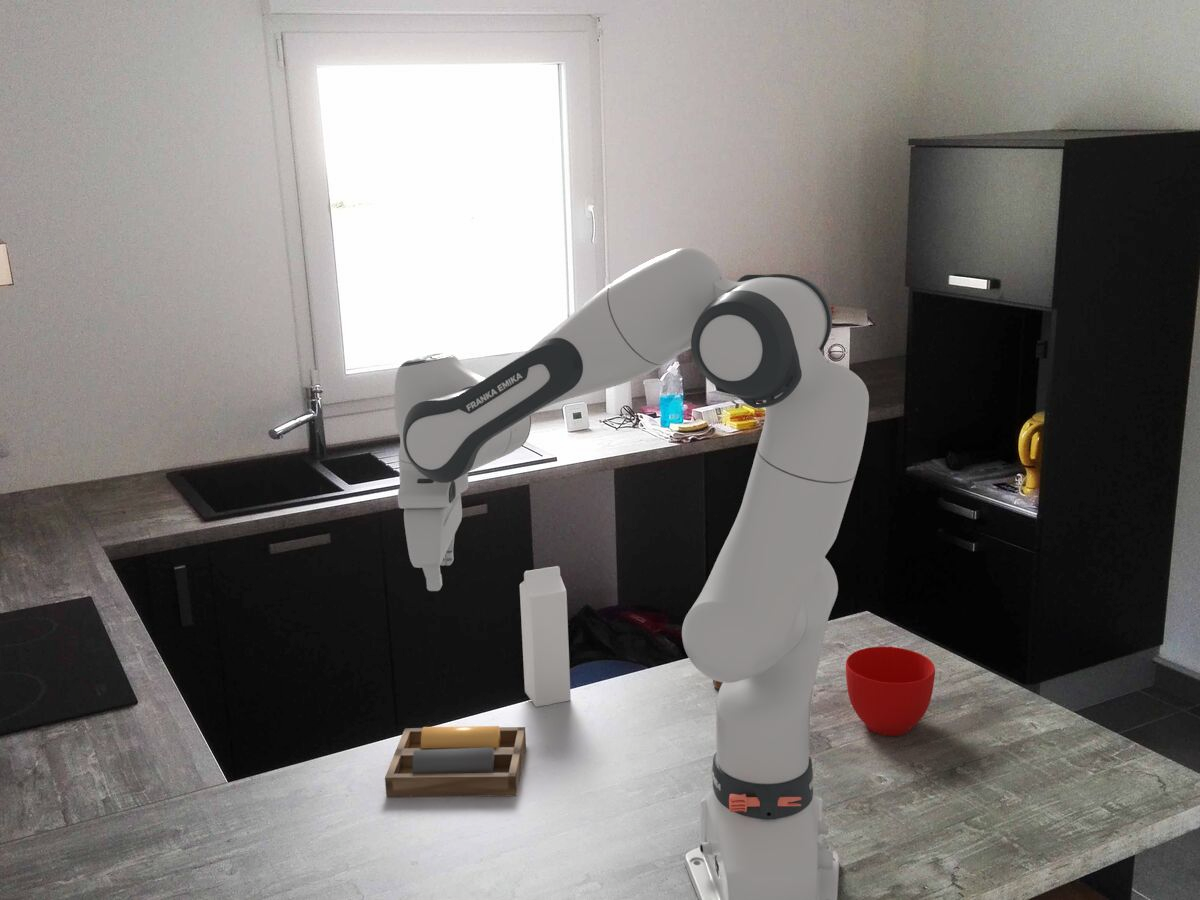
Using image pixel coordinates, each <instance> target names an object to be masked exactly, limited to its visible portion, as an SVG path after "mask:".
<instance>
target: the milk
mask: <svg viewBox="0 0 1200 900" xmlns="http://www.w3.org/2000/svg"><path fill="white" fill-rule="evenodd" d="M560 567H561V566H559V565H556V566H551V567H542V568H538V569H531V570H525V571H524V573H523V581H522V582H520V584H519V598H520V601H519V602H520V617H521V619H520V620H521V636H522V637H521V641H522V656H523V657H522V661H523V679H524V693H525V694H526V695H527V697H528V698H529V700H530V701H531V702H532V704H533V705H534V707H535V708H539V707H543V706H549V705H554V704H558V703H559V704H560V703H564V702H568V701H571V700H572V699H571V676H570V675H571V673H570V671H571V670H570V650H569V649H570V648H569V627H568V626H569V623H568V622H569V621H568V599H567V595H568V594H567V588H566V586H565V584H564V582H563V578H562V576H561V568H560Z"/></svg>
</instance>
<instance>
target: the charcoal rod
mask: <svg viewBox="0 0 1200 900" xmlns="http://www.w3.org/2000/svg"><path fill="white" fill-rule="evenodd" d="M494 767H495V761H494V748H493V747H489V748H463V749H436V750H415V751H414V754H413V774H417V773H494Z"/></svg>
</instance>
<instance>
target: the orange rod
mask: <svg viewBox="0 0 1200 900" xmlns="http://www.w3.org/2000/svg"><path fill="white" fill-rule="evenodd" d="M499 727H500V726H499V725H497V726H496V725H494V726H493V725H491V726H485V725H484V726H483V725H481V726H478V725H476V726H475V725H474V726H423V727H422V728H423V729H422V733H421V748H489V747H500V728H499Z"/></svg>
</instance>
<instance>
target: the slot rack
mask: <svg viewBox="0 0 1200 900" xmlns="http://www.w3.org/2000/svg"><path fill="white" fill-rule="evenodd" d="M499 728H500V747H493V748H494V761H495V767H494V773H417V774H413V754H414V751H415V750H436V749H463V748H421V733H422V729H423V727H414V728H413V727H411V728H410V727H409V728H407V727H405V728H404V730H403V732H402V735H401V737H400V740H399V742H398V744H397V747H396V749H395V752H394V754H393V757H392V759H391V762H390V763H389V766H388V769H387V772H386V773H385V777H384V782H385V784H384V785H385V794H386V798H425V797H426V798H432V797H433V798H434V797H435V798H438V797H439V798H440V797H442V798H443V797H448V798H449V797H516V796H517V795H518V794H517V793H518V790H519V784H520V779H521V778H520V777H521V773H522V767H523V763H524V759H525V752H526V747H527V746H526V745H527V742H526V741H527V739H526V737H527V735H526V727H525V726H519V727H518V726H510V727H509V726H505V727H503V726H502V727H500V726H499Z"/></svg>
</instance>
